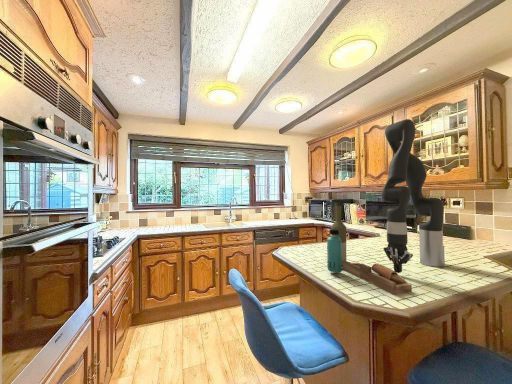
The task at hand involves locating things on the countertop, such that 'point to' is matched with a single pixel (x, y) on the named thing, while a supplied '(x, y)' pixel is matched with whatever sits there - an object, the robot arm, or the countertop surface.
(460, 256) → the countertop surface
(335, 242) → the beverage bottle
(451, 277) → the countertop surface
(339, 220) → the bottle
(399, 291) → the display cradle
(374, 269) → the sunglasses case
